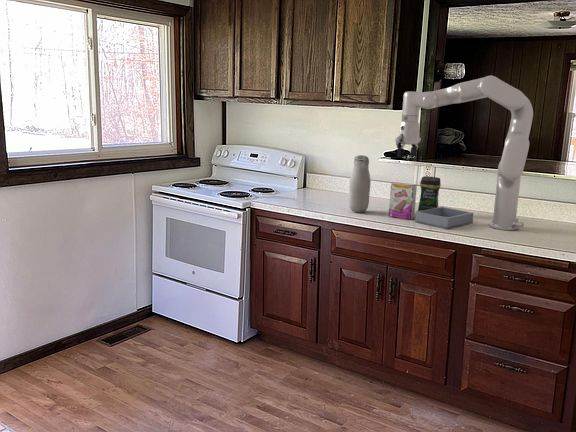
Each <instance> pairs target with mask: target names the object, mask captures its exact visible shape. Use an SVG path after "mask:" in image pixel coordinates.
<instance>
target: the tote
mask: <svg viewBox="0 0 576 432" xmlns="http://www.w3.org/2000/svg"><path fill="white" fill-rule="evenodd" d="M414 220H415V221H414V223H417V224H421V225H426V226H431V227H435V228H438V229H443V230H451V229H455V228H460V227H463V226H467V225H471V224H473V220H474V212H471V211H466V210H460V209H455V208H451V207H450V208H449V207H446V206H438V207H437V208H432V209H427V210H422V211H418V210H417V211H416V210H415V218H414Z"/></svg>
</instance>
